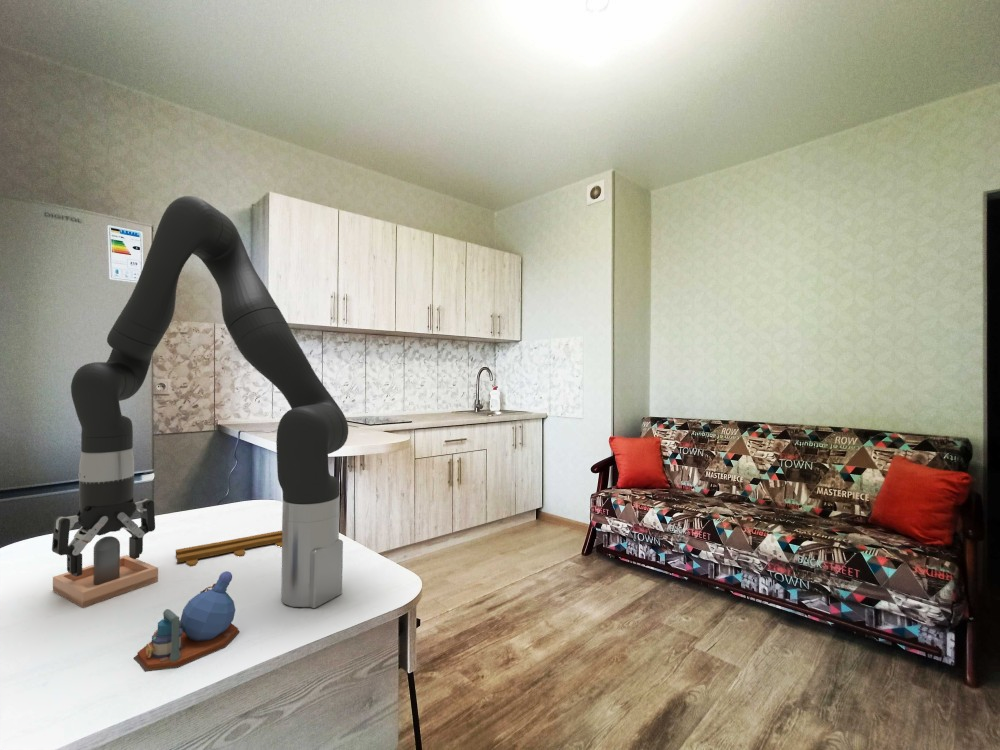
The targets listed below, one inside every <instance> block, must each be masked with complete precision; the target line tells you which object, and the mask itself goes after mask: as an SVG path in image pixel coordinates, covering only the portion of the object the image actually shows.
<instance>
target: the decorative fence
mask: <svg viewBox="0 0 1000 750" xmlns="http://www.w3.org/2000/svg"><path fill="white" fill-rule="evenodd" d="M273 544H274V545H275V546H276V545H277V546H280V547H282V530H277V531H272V532H266V533H261V534H256V535H251V536H245V537H244V536H243V537H240V538H238V537H237V538H233V539H229V540H223V541H217V542H213V543H212V542H211V543H206V544H201V545H195V546H189V547H184V548H177V549H175V557H176V562H177V563H183V562H185V563H186V564H185V565H186V566H188V567H195V566H197V564H198V563H199V559H203V558H208V557H213V556H219V555H223V554H228V553H233V554H234V555H235V556H237V557H238V556H239V558H240V557H244V556H245V554H246V549H251V548H255V547H261V546H267V545H273ZM277 546H276V547H277Z"/></svg>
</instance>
